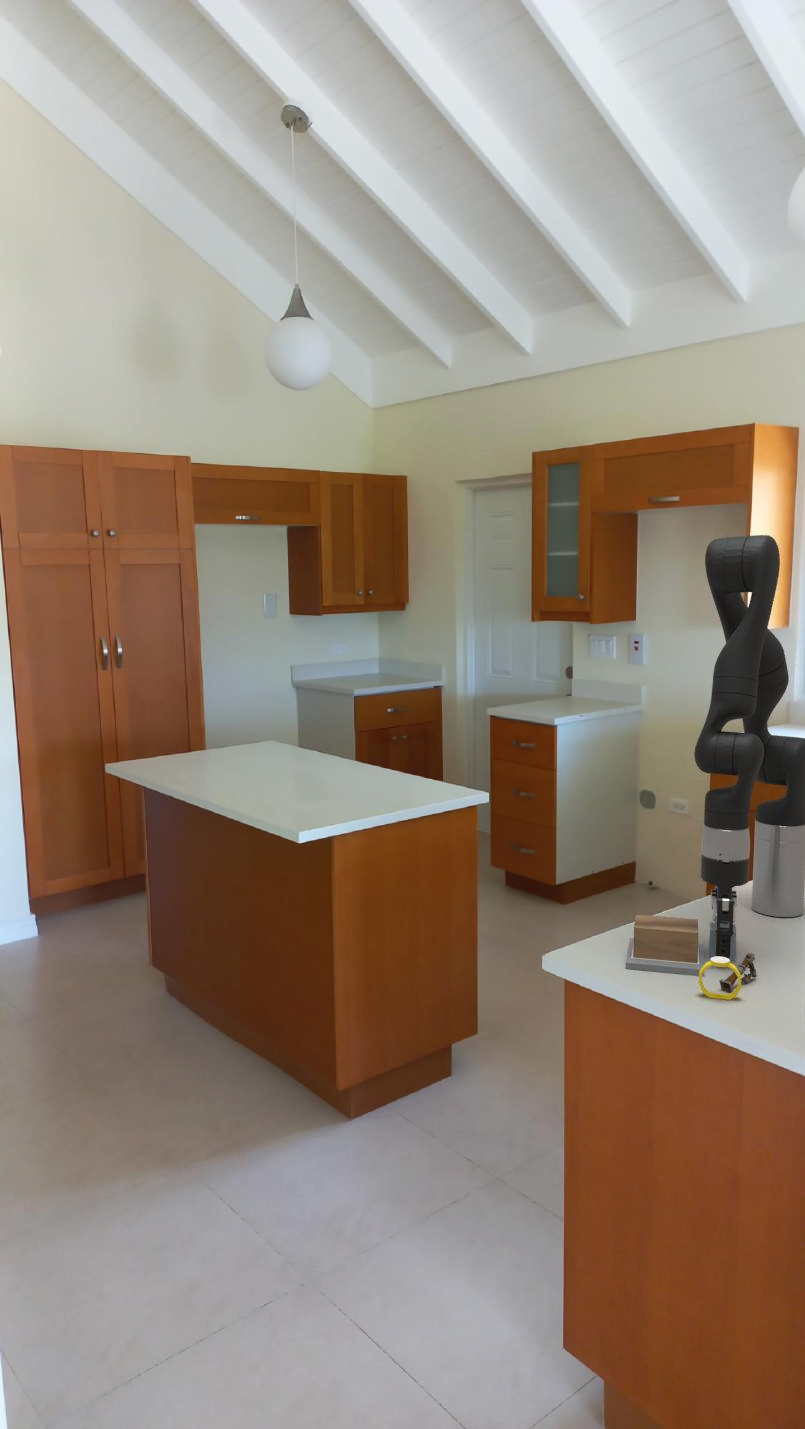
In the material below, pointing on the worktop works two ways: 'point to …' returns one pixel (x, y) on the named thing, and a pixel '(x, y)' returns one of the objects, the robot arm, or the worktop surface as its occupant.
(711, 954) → the gray block
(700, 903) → the worktop surface
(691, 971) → the build pad
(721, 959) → the watch
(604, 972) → the worktop surface
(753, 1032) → the worktop surface
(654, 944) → the walnut block
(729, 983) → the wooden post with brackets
